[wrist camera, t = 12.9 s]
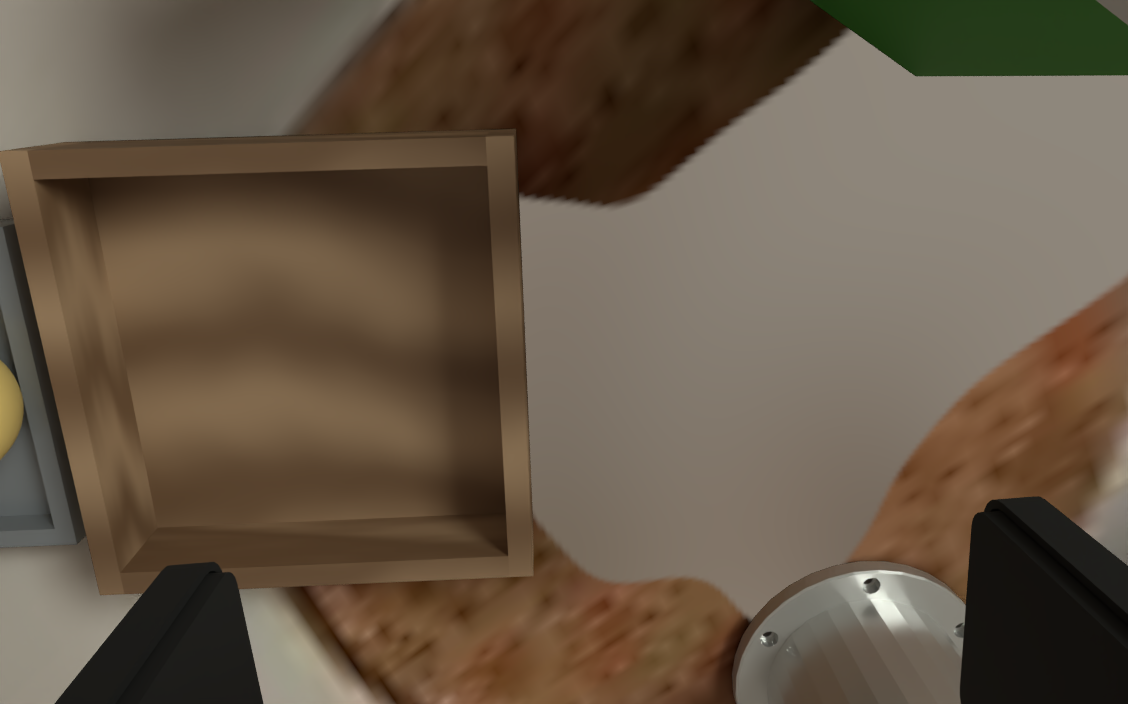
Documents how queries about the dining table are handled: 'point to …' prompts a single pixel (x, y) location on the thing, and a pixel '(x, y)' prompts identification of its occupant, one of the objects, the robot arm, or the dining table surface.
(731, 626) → the dining table surface
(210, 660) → the robot arm
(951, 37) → the hardback book
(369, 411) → the walnut box
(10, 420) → the ball
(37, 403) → the dish
